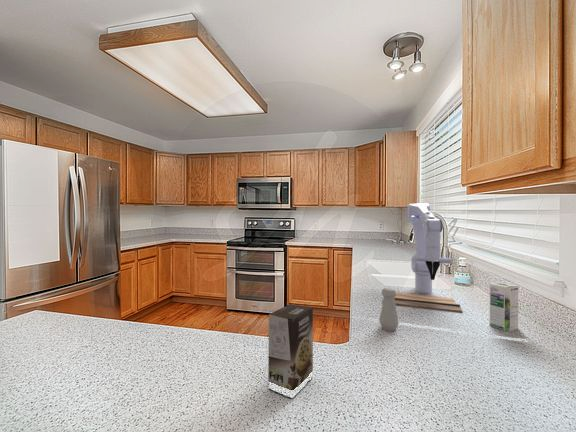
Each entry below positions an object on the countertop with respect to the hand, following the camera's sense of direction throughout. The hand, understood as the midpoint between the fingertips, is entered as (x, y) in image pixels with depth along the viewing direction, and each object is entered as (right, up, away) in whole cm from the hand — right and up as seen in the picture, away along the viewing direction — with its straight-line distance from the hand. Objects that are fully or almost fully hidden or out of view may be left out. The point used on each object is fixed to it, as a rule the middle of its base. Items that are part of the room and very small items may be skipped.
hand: (432, 279), depth 122 cm
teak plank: (-5, -9, 0) cm, 11 cm away
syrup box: (+8, -10, -30) cm, 32 cm away
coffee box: (-61, -10, -59) cm, 85 cm away
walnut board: (-9, -10, -8) cm, 15 cm away
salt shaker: (-29, -10, -29) cm, 42 cm away
